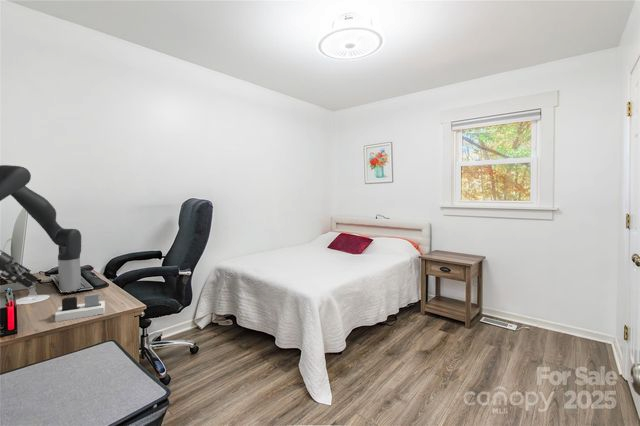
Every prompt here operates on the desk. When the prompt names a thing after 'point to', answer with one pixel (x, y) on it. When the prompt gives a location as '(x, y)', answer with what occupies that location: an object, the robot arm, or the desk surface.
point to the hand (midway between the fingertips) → (33, 283)
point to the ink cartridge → (69, 303)
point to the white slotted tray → (82, 309)
